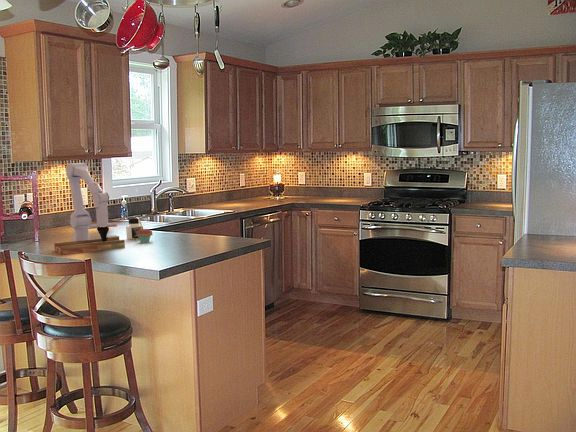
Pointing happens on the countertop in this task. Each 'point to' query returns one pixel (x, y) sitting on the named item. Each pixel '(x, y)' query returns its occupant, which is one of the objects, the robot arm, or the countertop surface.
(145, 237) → the cupcake
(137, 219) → the medicine bottle
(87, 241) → the box
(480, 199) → the countertop surface
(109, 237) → the walnut block
